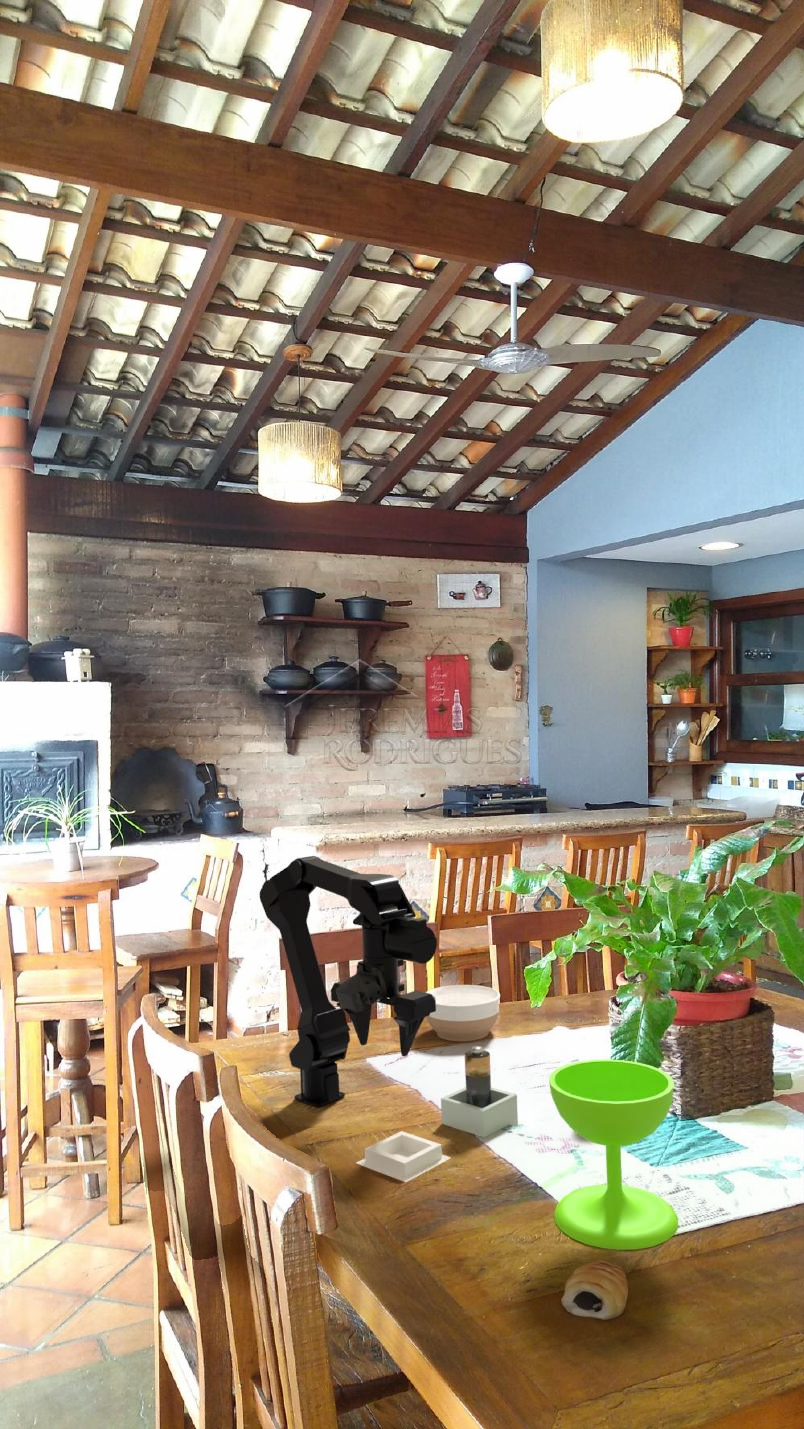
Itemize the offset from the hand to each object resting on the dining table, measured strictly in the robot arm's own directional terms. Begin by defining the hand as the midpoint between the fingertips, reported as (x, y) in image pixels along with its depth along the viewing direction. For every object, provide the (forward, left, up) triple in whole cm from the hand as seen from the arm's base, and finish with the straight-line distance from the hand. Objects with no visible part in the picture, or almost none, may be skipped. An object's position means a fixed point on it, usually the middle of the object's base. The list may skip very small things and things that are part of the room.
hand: (383, 1050), depth 169 cm
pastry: (+53, -22, -12) cm, 59 cm away
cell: (+13, +8, -11) cm, 19 cm away
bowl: (-20, +44, -12) cm, 50 cm away
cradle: (+13, -10, -12) cm, 20 cm away
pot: (+13, +8, -12) cm, 19 cm away
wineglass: (+45, -4, -12) cm, 47 cm away
